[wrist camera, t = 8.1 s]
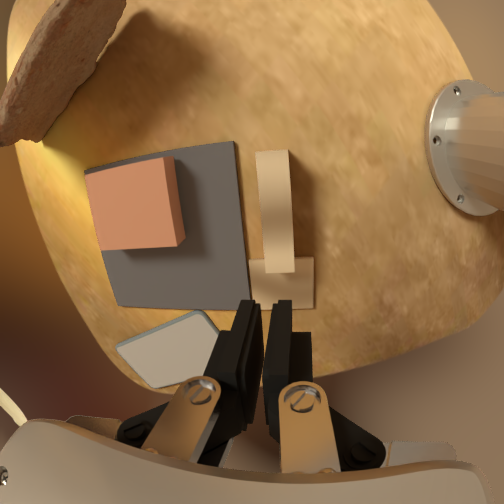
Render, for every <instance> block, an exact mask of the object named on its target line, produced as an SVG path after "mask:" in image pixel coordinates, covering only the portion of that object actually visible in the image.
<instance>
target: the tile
mask: <svg viewBox="0 0 504 504" xmlns="http://www.w3.org/2000/svg"><path fill="white" fill-rule="evenodd" d="M85 181H86V187H87V192H88V198H89V203H90V208H91V213H92V217H93V222H94V226H95V230H96V235H97V239H98V243H99V246H100V250H101V251H102V250H120V249H137V248H156V247H175V246H178V245H179V244H180V243H181V242H182V241H183V240H184V239H185V238H186V236H185V231H184V225H183V219H182V212H181V206H180V200H179V193H178V186H177V179H176V171H175V164H174V156H168V157H162V158H157V159H151V160H146V161H141V162H137V163H132V164H128V165H123V166H119V167H115V168H110V169H106V170H102V171H99V172H95V173H91V174H87V175H85Z"/></svg>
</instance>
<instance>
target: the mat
mask: <svg viewBox="0 0 504 504" xmlns="http://www.w3.org/2000/svg"><path fill="white" fill-rule="evenodd" d="M168 156H174V164H175V171H176V179H177V186H178V193H179V200H180V206H181V212H182V219H183V225H184V231H185V236H186V238H185V239H184V240H183V241H182V242H181V243H180V244H179V245H178V246H175V247H156V248H137V249H120V250H102V251H101V253H102V257H103V260H104V264H105V267H106V270H107V274H108V277H109V280H110V283H111V287H112V290H113V293H114V296H115V299H116V302H117V304H118V306H129V307H146V308H167V309H199V310H238V307H239V304H240V301H241V300H251V297H250V288H249V279H248V270H247V261H246V251H245V242H244V233H243V224H242V214H241V205H240V195H239V186H238V176H237V166H236V157H235V147H234V141H229V142H221V143H213V144H206V145H199V146H193V147H186V148H180V149H175V150H169V151H164V152H159V153H153V154H149V155H144V156H139V157H135V158H130V159H126V160H122V161H118V162H114V163H110V164H106V165H102V166H98V167H95V168H91V169H88V170H84V173H85V175H87V174H91V173H95V172H99V171H102V170H106V169H110V168H115V167H119V166H123V165H128V164H132V163H137V162H141V161H146V160H151V159H157V158H162V157H168Z"/></svg>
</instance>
